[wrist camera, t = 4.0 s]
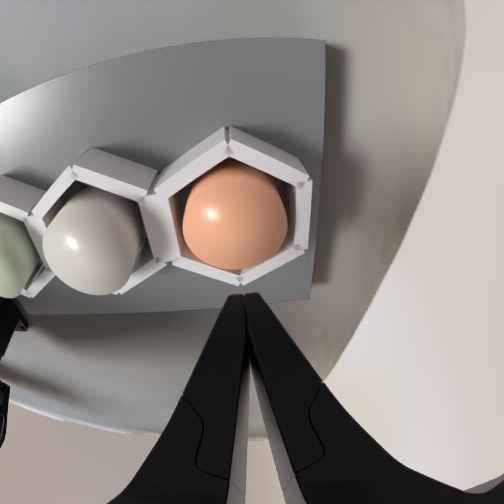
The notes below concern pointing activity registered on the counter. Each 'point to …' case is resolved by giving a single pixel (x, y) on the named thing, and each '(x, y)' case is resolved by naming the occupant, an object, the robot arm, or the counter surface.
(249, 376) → the robot arm
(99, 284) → the grey button
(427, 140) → the counter surface
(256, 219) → the terracotta button
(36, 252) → the sage button
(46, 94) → the button panel
